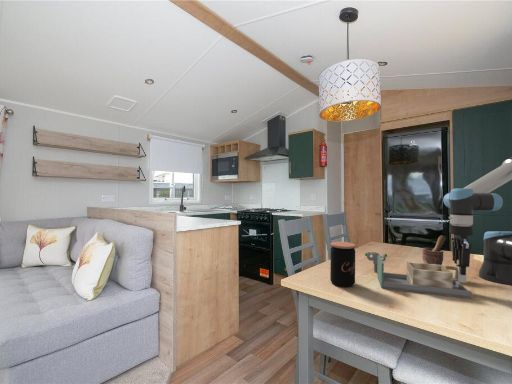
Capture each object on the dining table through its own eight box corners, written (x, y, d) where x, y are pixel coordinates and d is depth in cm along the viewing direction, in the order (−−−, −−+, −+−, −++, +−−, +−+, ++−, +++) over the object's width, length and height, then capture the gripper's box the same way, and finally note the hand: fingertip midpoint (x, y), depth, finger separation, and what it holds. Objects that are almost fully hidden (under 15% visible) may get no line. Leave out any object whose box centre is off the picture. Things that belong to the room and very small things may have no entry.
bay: (456, 285, 115) (456, 261, 115) (471, 298, 101) (471, 271, 101) (377, 277, 125) (377, 255, 125) (381, 288, 111) (381, 263, 111)
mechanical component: (387, 273, 131) (387, 254, 130) (365, 272, 133) (365, 253, 133) (385, 272, 133) (385, 252, 133) (364, 270, 136) (364, 251, 135)
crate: (457, 284, 113) (458, 257, 113) (470, 295, 102) (470, 264, 102) (406, 279, 120) (406, 253, 120) (412, 288, 109) (413, 260, 109)
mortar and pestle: (429, 270, 136) (429, 233, 136) (448, 275, 129) (448, 235, 128) (419, 275, 129) (419, 235, 129) (439, 280, 122) (439, 238, 122)
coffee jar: (342, 289, 109) (343, 247, 109) (325, 281, 119) (325, 242, 119) (360, 285, 114) (360, 245, 114) (342, 278, 124) (342, 240, 124)
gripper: (443, 222, 117) (443, 274, 117) (457, 227, 102) (457, 286, 102) (463, 223, 114) (463, 276, 114) (481, 228, 99) (480, 288, 100)
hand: (460, 280), depth 108 cm, fingers closed on crate, 2 cm apart
